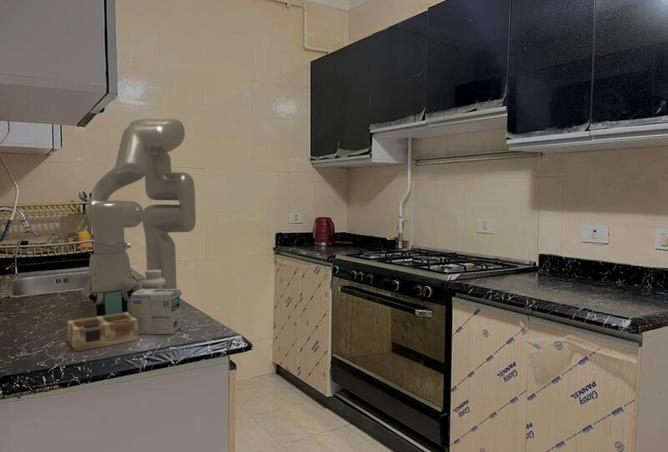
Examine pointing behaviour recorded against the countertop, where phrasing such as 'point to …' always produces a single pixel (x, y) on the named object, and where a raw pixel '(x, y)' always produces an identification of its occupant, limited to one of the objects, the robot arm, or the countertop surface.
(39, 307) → the countertop surface
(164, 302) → the light bulb box
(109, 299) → the teal tall block
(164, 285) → the supplement bottle
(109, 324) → the socket block
